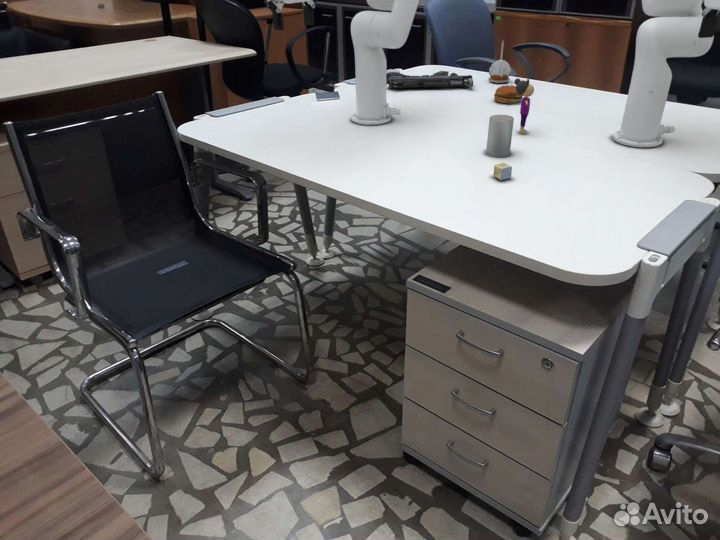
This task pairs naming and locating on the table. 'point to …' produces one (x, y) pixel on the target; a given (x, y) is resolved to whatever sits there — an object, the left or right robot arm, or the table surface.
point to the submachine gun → (428, 80)
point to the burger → (507, 94)
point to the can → (499, 135)
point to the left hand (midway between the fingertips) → (294, 27)
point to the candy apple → (500, 70)
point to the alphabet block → (502, 171)
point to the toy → (524, 100)
